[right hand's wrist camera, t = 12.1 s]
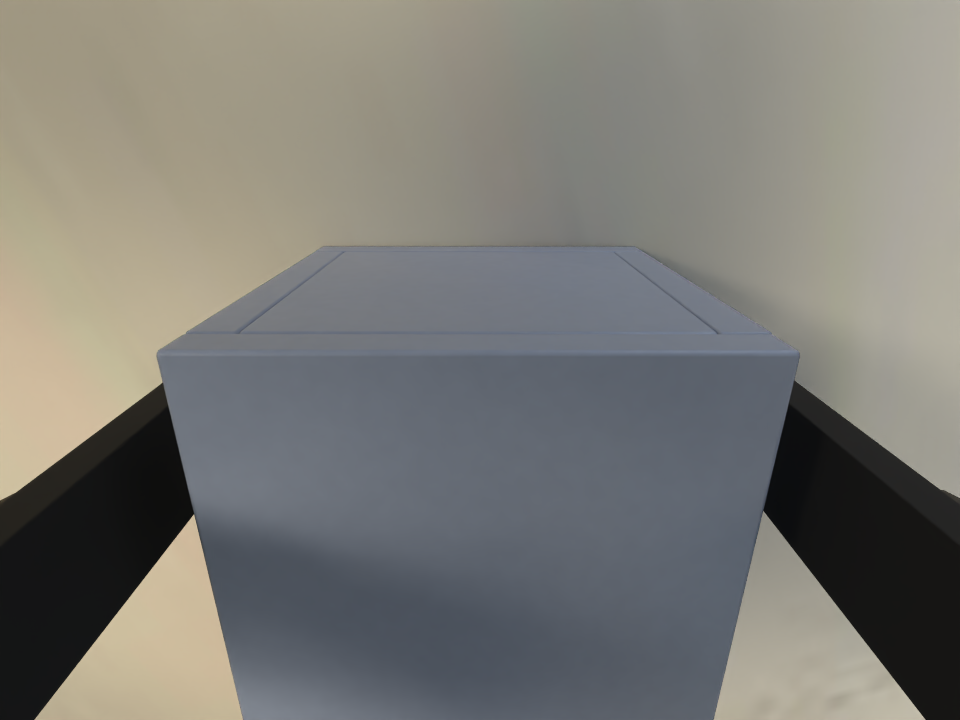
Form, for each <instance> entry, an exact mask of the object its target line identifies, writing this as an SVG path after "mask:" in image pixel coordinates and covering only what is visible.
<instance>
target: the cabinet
mask: <svg viewBox="0 0 960 720" xmlns="http://www.w3.org/2000/svg"><path fill="white" fill-rule="evenodd" d="M799 358H800V355H799V351H798V350H796V349H795V348H793V347H791V346H790V345H788V344H787V343H785V342H783V341H782V340H780V339H779V338H777V337H776V336H774V335H772V333H771V332H770V331H768V330H767V329H765V328H763V327H762V326H760V325H759V324H757V323H755V322H754V321H752V320H751V319H749V318H748V317H746V316H744V315H743V314H741V313H740V312H738V311H736V310H735V309H733V308H732V307H730V306H728V305H727V304H725V303H724V302H722V301H721V300H719V299H717V298H716V297H714V296H713V295H711V294H709V293H708V292H706V291H705V290H703V289H701V288H700V287H698V286H697V285H695V284H694V283H692V282H690V281H689V280H687V279H686V278H684V277H682V276H681V275H679V274H678V273H676V272H674V271H673V270H671V269H670V268H668V267H667V266H665V265H663V264H662V263H660V262H659V261H657V260H655V259H654V258H652V257H651V256H649V255H647V254H646V253H644V252H643V251H641V250H639V249H638V248H636V247H487V246H323V247H321V248H320V249H318V250H317V251H315V252H314V253H312V254H311V255H309V256H307V257H306V258H304V259H303V260H301V261H299V262H298V263H296V264H295V265H293V266H291V267H290V268H288V269H287V270H285V271H283V272H282V273H280V274H279V275H277V276H275V277H274V278H272V279H271V280H269V281H267V282H266V283H264V284H263V285H261V286H259V287H258V288H256V289H255V290H253V291H251V292H250V293H248V294H247V295H245V296H243V297H242V298H240V299H239V300H237V301H235V302H234V303H232V304H231V305H229V306H227V307H226V308H224V309H223V310H221V311H219V312H218V313H216V314H215V315H213V316H211V317H210V318H208V319H207V320H205V321H203V322H202V323H200V324H199V325H197V326H195V327H194V328H192V329H191V330H189V331H187V332H186V334H184V335H182V336H180V337H179V338H177V339H176V340H174V341H172V342H171V343H169V344H168V345H166V346H164V347H163V348H161V349H160V350H158V352H157V360H158V364H159V368H160V372H161V377H162V381H163V385H164V389H165V393H166V398H167V402H168V406H169V410H170V414H171V419H172V423H173V427H174V431H175V435H176V440H177V444H178V448H179V452H180V456H181V461H182V465H183V469H184V473H185V477H186V482H187V486H188V490H189V494H190V498H191V503H192V507H193V511H194V515H195V519H196V523H197V528H198V532H199V536H200V540H201V544H202V549H203V553H204V557H205V561H206V565H207V570H208V574H209V578H210V582H211V586H212V591H213V595H214V599H215V603H216V607H217V612H218V616H219V620H220V624H221V628H222V633H223V637H224V641H225V645H226V649H227V654H228V658H229V662H230V666H231V670H232V675H233V679H234V683H235V687H236V691H237V695H238V700H239V704H240V708H241V712H242V716H243V720H713V719H714V715H715V711H716V707H717V703H718V698H719V694H720V690H721V686H722V682H723V677H724V673H725V669H726V665H727V661H728V656H729V652H730V648H731V644H732V640H733V635H734V631H735V627H736V623H737V618H738V614H739V610H740V606H741V602H742V597H743V593H744V589H745V585H746V581H747V576H748V572H749V568H750V564H751V560H752V555H753V551H754V547H755V543H756V539H757V534H758V530H759V526H760V522H761V517H762V513H763V509H764V505H765V501H766V496H767V492H768V488H769V484H770V480H771V475H772V471H773V467H774V463H775V459H776V454H777V450H778V446H779V442H780V438H781V433H782V429H783V425H784V421H785V416H786V412H787V408H788V404H789V400H790V395H791V391H792V387H793V383H794V379H795V374H796V370H797V366H798V362H799Z"/></svg>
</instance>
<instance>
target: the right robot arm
mask: <svg viewBox="0 0 960 720" xmlns="http://www.w3.org/2000/svg"><path fill="white" fill-rule="evenodd" d="M763 511H764V512H765V513H766V515H767V516H768V517H769V519H770V520H771V521H772V522H773V524H774V525H775V526H776V528H777V529H778V530H779V531H780V533H781V534H782V535H783V537H784V538H785V539H786V540H787V542H788V543H789V544H790V546H791V547H792V548H793V549H794V551H795V552H796V553H797V555H798V556H799V557H800V558H801V560H802V561H803V562H804V564H805V565H806V566H807V567H808V569H809V570H810V571H811V573H812V574H813V575H814V576H815V578H816V579H817V580H818V582H819V583H820V584H821V586H822V587H823V588H824V589H825V591H826V592H827V593H828V595H829V596H830V597H831V598H832V600H833V601H834V602H835V604H836V605H837V606H838V607H839V609H840V610H841V611H842V613H843V614H844V615H845V616H846V618H847V619H848V620H849V622H850V623H851V624H852V625H853V627H854V628H855V629H856V631H857V632H858V633H859V634H860V636H861V637H862V638H863V640H864V641H865V642H866V643H867V645H868V646H869V647H870V649H871V650H872V651H873V652H874V654H875V655H876V656H877V658H878V659H879V660H880V662H881V663H882V664H883V665H884V667H885V668H886V669H887V671H888V672H889V673H890V674H891V676H892V677H893V678H894V680H895V681H896V682H897V683H898V685H899V686H900V687H901V689H902V690H903V691H904V692H905V694H906V695H907V696H908V698H909V699H910V700H911V701H912V703H913V704H914V705H915V707H916V708H917V709H918V710H919V712H920V713H921V714H922V716H923V717H924V718H925V719H926V720H960V498H958V497H956V496H954V495H952V494H950V493H948V492H946V491H944V490H940V489H938V488H937V487H936V486H934V485H933V484H932V483H930V482H929V481H928V480H926V479H925V478H924V477H922V476H921V475H920V474H918V473H917V472H916V471H914V470H913V469H912V468H910V467H909V466H908V465H906V464H905V463H904V462H902V461H901V460H900V459H898V458H897V457H896V456H894V455H893V454H892V453H890V452H889V451H888V450H886V449H885V448H884V447H882V446H881V445H880V444H878V443H877V442H876V441H874V440H873V439H872V438H870V437H869V436H868V435H866V434H865V433H864V432H862V431H861V430H860V429H858V428H857V427H856V426H854V425H853V424H852V423H850V422H849V421H848V420H846V419H845V418H844V417H842V416H841V415H840V414H838V413H837V412H835V411H834V410H833V409H831V408H830V407H829V406H827V405H826V404H825V403H823V402H822V401H821V400H819V399H818V398H817V397H815V396H814V395H813V394H811V393H810V392H809V391H807V390H806V389H805V388H803V387H802V386H801V385H799V384H798V383H797V382H795V381H794V383H793V387H792V391H791V395H790V400H789V404H788V408H787V412H786V416H785V421H784V425H783V429H782V433H781V438H780V442H779V446H778V450H777V454H776V459H775V463H774V467H773V471H772V475H771V480H770V484H769V488H768V492H767V496H766V501H765V505H764V509H763ZM193 515H194V511H193V507H192V503H191V498H190V494H189V490H188V486H187V482H186V477H185V473H184V469H183V465H182V461H181V456H180V452H179V448H178V444H177V440H176V435H175V431H174V427H173V423H172V419H171V414H170V410H169V406H168V402H167V398H166V393H165V389H164V385H163V383H162V384H161V385H159V386H158V387H157V388H155V389H154V390H153V391H151V392H150V393H149V394H147V395H146V396H145V397H143V398H142V399H141V400H139V401H138V402H137V403H135V404H134V405H133V406H131V407H130V408H129V409H127V410H126V411H125V412H123V413H122V414H120V415H119V416H118V417H116V418H115V419H114V420H112V421H111V422H110V423H108V424H107V425H106V426H104V427H103V428H102V429H100V430H99V431H98V432H96V433H95V434H94V435H92V436H91V437H90V438H88V439H87V440H86V441H84V442H83V443H82V444H80V445H79V446H78V447H76V448H75V449H74V450H72V451H71V452H70V453H68V454H67V455H66V456H64V457H63V458H62V459H60V460H59V461H58V462H56V463H55V464H54V465H52V466H51V467H50V468H48V469H47V470H46V471H44V472H43V473H42V474H40V475H39V476H38V477H36V478H35V479H34V480H32V481H31V482H30V483H28V484H27V485H26V486H24V487H23V488H22V489H20V490H19V491H18V492H16V493H14V494H12V495H10V496H8V497H6V498H4V499H2V500H0V720H34V719H35V718H36V717H37V716H38V714H39V713H40V712H41V710H42V709H43V708H44V707H45V705H46V704H47V703H48V701H49V700H50V699H51V698H52V696H53V695H54V694H55V692H56V691H57V690H58V689H59V687H60V686H61V685H62V683H63V682H64V681H65V680H66V678H67V677H68V676H69V674H70V673H71V672H72V671H73V669H74V668H75V667H76V665H77V664H78V663H79V662H80V660H81V659H82V658H83V656H84V655H85V654H86V652H87V651H88V650H89V649H90V647H91V646H92V645H93V643H94V642H95V641H96V640H97V638H98V637H99V636H100V634H101V633H102V632H103V631H104V629H105V628H106V627H107V625H108V624H109V623H110V622H111V620H112V619H113V618H114V616H115V615H116V614H117V613H118V611H119V610H120V609H121V607H122V606H123V605H124V604H125V602H126V601H127V600H128V598H129V597H130V596H131V595H132V593H133V592H134V591H135V589H136V588H137V587H138V586H139V584H140V583H141V582H142V580H143V579H144V578H145V576H146V575H147V574H148V573H149V571H150V570H151V569H152V567H153V566H154V565H155V564H156V562H157V561H158V560H159V558H160V557H161V556H162V555H163V553H164V552H165V551H166V549H167V548H168V547H169V546H170V544H171V543H172V542H173V540H174V539H175V538H176V537H177V535H178V534H179V533H180V531H181V530H182V529H183V528H184V526H185V525H186V524H187V522H188V521H189V520H190V519H191V517H192V516H193Z"/></svg>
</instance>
